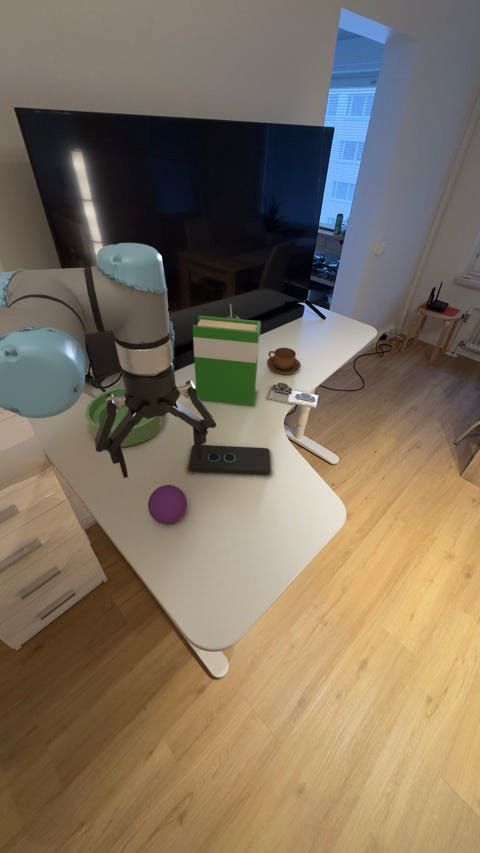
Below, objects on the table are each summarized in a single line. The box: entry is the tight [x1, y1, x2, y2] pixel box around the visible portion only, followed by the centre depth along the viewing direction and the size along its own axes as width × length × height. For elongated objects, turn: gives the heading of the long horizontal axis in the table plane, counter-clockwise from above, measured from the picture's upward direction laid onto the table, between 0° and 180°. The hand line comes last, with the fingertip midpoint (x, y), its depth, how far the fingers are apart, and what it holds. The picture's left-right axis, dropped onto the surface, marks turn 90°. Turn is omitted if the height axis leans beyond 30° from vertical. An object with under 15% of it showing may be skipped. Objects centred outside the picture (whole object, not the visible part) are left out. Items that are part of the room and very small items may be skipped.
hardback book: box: [192, 315, 262, 407], centre depth 101 cm, size 18×7×24 cm, turn 83°
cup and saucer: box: [266, 347, 302, 375], centre depth 121 cm, size 12×12×6 cm
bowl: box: [85, 386, 165, 448], centre depth 95 cm, size 20×20×6 cm
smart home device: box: [188, 444, 271, 476], centre depth 87 cm, size 8×2×20 cm
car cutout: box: [268, 382, 319, 409], centre depth 108 cm, size 15×7×4 cm, turn 74°
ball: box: [147, 484, 188, 525], centre depth 72 cm, size 8×8×8 cm
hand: (162, 463), depth 64 cm, fingers open, 13 cm apart
